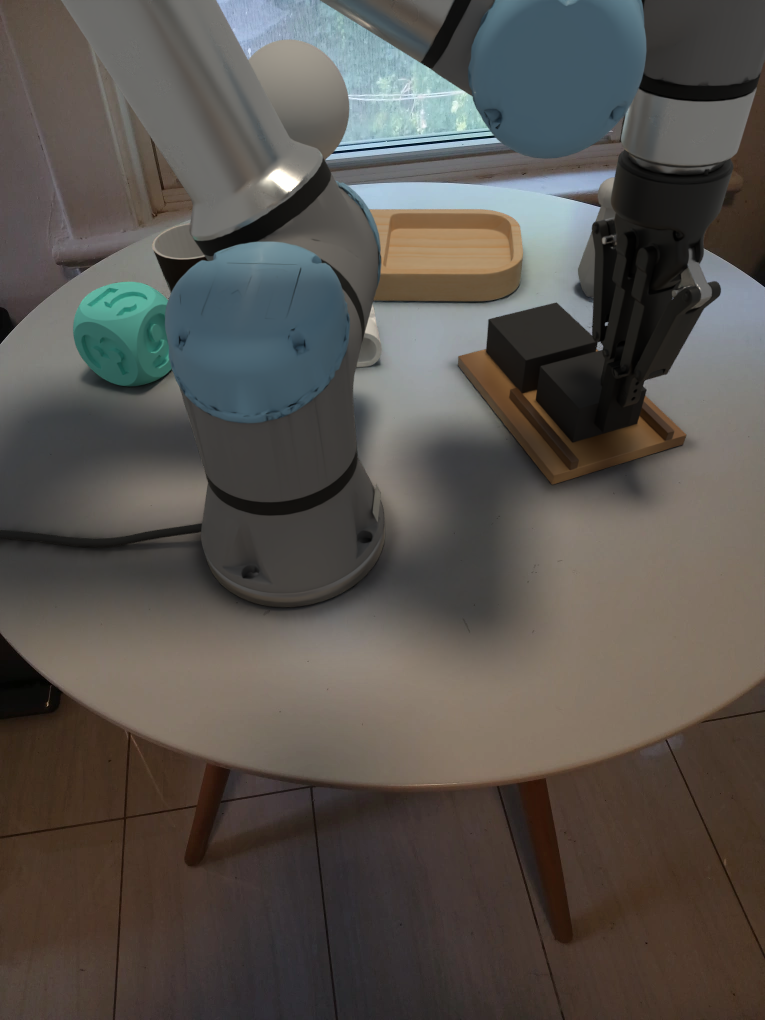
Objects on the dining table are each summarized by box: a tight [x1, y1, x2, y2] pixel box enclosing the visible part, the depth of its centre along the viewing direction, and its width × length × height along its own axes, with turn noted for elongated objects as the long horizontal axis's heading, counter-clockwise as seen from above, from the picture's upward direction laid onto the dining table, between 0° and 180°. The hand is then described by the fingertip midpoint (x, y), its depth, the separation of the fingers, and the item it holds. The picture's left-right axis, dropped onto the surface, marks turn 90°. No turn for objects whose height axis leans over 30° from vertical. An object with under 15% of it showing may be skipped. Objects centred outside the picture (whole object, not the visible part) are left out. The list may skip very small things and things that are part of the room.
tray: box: [457, 348, 687, 485], centre depth 73 cm, size 14×20×2 cm
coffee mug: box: [151, 222, 208, 294], centre depth 84 cm, size 12×9×10 cm
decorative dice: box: [72, 281, 172, 387], centre depth 78 cm, size 8×8×8 cm
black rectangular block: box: [536, 349, 648, 443], centre depth 69 cm, size 7×7×4 cm
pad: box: [485, 302, 599, 393], centre depth 75 cm, size 8×8×4 cm
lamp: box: [248, 39, 524, 302], centre depth 85 cm, size 33×17×25 cm, turn 86°
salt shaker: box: [577, 176, 616, 299], centre depth 83 cm, size 6×6×13 cm
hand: (611, 423), depth 66 cm, fingers closed
